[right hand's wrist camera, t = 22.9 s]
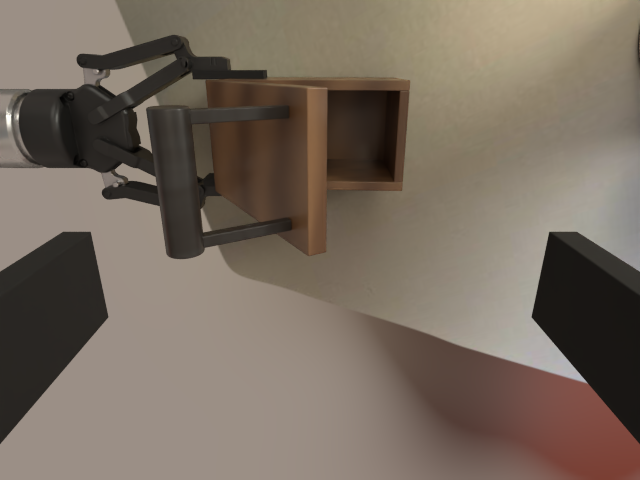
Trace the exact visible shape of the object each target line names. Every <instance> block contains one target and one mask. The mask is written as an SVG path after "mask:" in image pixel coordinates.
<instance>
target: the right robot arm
mask: <svg viewBox="0 0 640 480" xmlns="http://www.w3.org/2000/svg"><path fill="white" fill-rule="evenodd" d="M639 56H640V36H639ZM107 318H108V313H107V308H106V304H105V299H104V294H103V289H102V284H101V279H100V275H99V270H98V265H97V260H96V255H95V251H94V246H93V241H92V236H91V232H62V233H61V234H59V235H57V236H56V237H54V238H53V239H51V240H50V241H48V242H46V243H45V244H43V245H42V246H40V247H39V248H37V249H35V250H34V251H32V252H31V253H29V254H28V255H26V256H24V257H23V258H21V259H20V260H18V261H16V262H15V263H13V264H12V265H10V266H9V267H7V268H5V269H4V270H2V271H1V272H0V444H1V442H2V441H3V440H4V439H5V438H6V437H7V435H8V434H9V433H10V432H11V431H12V429H13V428H14V427H15V426H16V425H17V424H18V422H19V421H20V420H21V419H22V418H23V417H24V415H25V414H26V413H27V412H28V411H29V410H30V408H31V407H32V406H33V405H34V404H35V403H36V401H37V400H38V399H39V398H40V397H41V396H42V394H43V393H44V392H45V391H46V390H47V388H48V387H49V386H50V385H51V384H52V383H53V381H54V380H55V379H56V378H57V377H58V376H59V374H60V373H61V372H62V371H63V370H64V369H65V367H66V366H67V365H68V364H69V363H70V362H71V360H72V359H73V358H74V357H75V356H76V354H77V353H78V352H79V351H80V350H81V349H82V347H83V346H84V345H85V344H86V343H87V342H88V340H89V339H90V338H91V337H92V336H93V335H94V333H95V332H96V331H97V330H98V329H99V328H100V326H101V325H102V324H103V323H104V322H105V321H106V319H107ZM532 318H533V319H534V321H535V322H536V323H537V324H538V325H539V326H540V328H541V329H542V330H543V331H544V332H545V333H546V335H547V336H548V337H549V338H550V339H551V340H552V342H553V343H554V344H555V345H556V346H557V347H558V349H559V350H560V351H561V352H562V353H563V354H564V356H565V357H566V358H567V359H568V360H569V362H570V363H571V364H572V365H573V366H574V367H575V369H576V370H577V371H578V372H579V373H580V374H581V376H582V377H583V378H584V379H585V380H586V381H587V383H588V384H589V385H590V386H591V387H592V388H593V390H594V391H595V392H596V393H597V394H598V396H599V397H600V398H601V399H602V400H603V401H604V403H605V404H606V405H607V406H608V407H609V408H610V410H611V411H612V412H613V413H614V414H615V415H616V417H617V418H618V419H619V420H620V421H621V422H622V424H623V425H624V426H625V427H626V428H627V429H628V431H629V432H630V433H631V434H632V435H633V437H634V438H635V439H636V440H637V441H638V442H639V443H640V272H639V271H638V270H636V269H635V268H633V267H631V266H630V265H628V264H627V263H625V262H624V261H622V260H620V259H619V258H617V257H616V256H614V255H613V254H611V253H609V252H608V251H606V250H605V249H603V248H601V247H600V246H598V245H597V244H595V243H594V242H592V241H590V240H589V239H587V238H586V237H584V236H583V235H581V234H579V233H578V232H549V236H548V241H547V246H546V251H545V256H544V260H543V265H542V270H541V275H540V279H539V284H538V289H537V294H536V299H535V303H534V308H533V313H532Z"/></svg>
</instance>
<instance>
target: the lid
mask: <svg viewBox="0 0 640 480" xmlns="http://www.w3.org/2000/svg"><path fill="white" fill-rule="evenodd" d="M206 90H207V101H208V108H195V109H190V108H189V107H188V106H178V105H168V106H152V107H148V108H147V109H146V111H147V118H148V125H149V132H150V140H151V146H152V154H153V161H154V168H155V175H156V182H157V189H158V196H159V204H160V211H161V218H162V225H163V232H164V239H165V246H166V253H167V255H168V256H169V257H171V258H174V259H188V258H193V257H196V256H199V255H200V254H202V253H203V252H204V249H205V248H206V247H211V246H216V245H221V244H226V243H231V242H236V241H241V240H246V239H251V238H256V237H261V236H266V235H271V234H278V235H279V236H280V237H282V238H283V239H285V240H286V241H288V242H289V243H290V244H292V245H293V246H295V247H296V248H298V249H299V250H300V251H302V252H303V253H305V254H306V255H308V256H311V255H315V254H320V253H324V252H326V202H327V87H316V86H302V85H287V84H272V83H257V82H242V81H228V80H206ZM204 123H210V134H211V145H212V156H213V168H214V179H215V190H216V192H218V193H219V194H220V195H222V196H223V197H225V198H226V199H228V200H229V201H230V202H232V203H233V204H235V205H236V206H238V207H239V208H240V209H242V210H243V211H245V212H246V213H248V214H249V215H250V216H252V217H253V218H255V219H256V220H258V221H259V223H253V224H248V225H242V226H237V227H231V228H226V229H220V230H215V231H209V232H204V233H203V229H202V220H201V210H200V201H199V191H198V181H197V172H196V162H195V153H194V143H193V134H192V124H204Z"/></svg>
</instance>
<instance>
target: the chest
mask: <svg viewBox="0 0 640 480" xmlns="http://www.w3.org/2000/svg"><path fill="white" fill-rule="evenodd" d="M219 80H228V81H242V82H257V83H272V84H287V85H302V86H316V87H327V190H381V191H402V181H403V170H404V156H405V143H406V129H407V116H408V103H409V90H410V80H404V79H398V78H306V77H267V78H266V79H219Z"/></svg>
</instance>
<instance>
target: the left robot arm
mask: <svg viewBox="0 0 640 480" xmlns="http://www.w3.org/2000/svg"><path fill="white" fill-rule="evenodd" d="M171 54H175V56H176V58H177V60H176V61H174V62H173V63H171V64H169V65H168V66H166V67H165V68H163V69H161V70H160V71H158V72H156V73H155V74H153V75H152V76H150V77H148V78H147V79H145V80H143V81H142V82H140V83H139V84H137V85H135V86H134V87H132V88H131V89H129V90H127V91H125V92H123V93H121V94H119V95H117V96H115V95H114V94H112V93H111V92H110V91H108V90H107V89H105V88H104V87H102V86H101V85H100V81H101V80H102V79H103V78H107V77H109V75H110V70H115V69H122V68H126V67H129V66H132V65H136V64H140V63H143V62H147V61H150V60H153V59H157V58H160V57H164V56H167V55H171ZM77 63H78V64H79V66H80V67H82V68H83V70H84V81H85V84H84V85H82V86H81V87H79V88H77V89H35V90H32V91H31V90H29V89H0V168H41V167H47V168H91V169H94V170H96V171H98V172H101V173H102V177H103V180H104V184H105V187H106V188H104V189H103V190H102V195H103V197H104V198H106V199H119V198H128V199H132V200H136V201H141V202H145V203H149V204H153V205H158V206H160V204H159V196H158V189H157V186H155V185H150V184H146V183H142V182H137V181H128V178H127V177H125V176H121V175H118V174H117V173H116V172H115V169H116V168H117V167H118V166H119V165H121V164H122V163H124V164H126V165H128V166H130V167H133V168H139V169H141V170H143V171H145V172H147V173H149V174H151V175H153V176H155V177H156V175H155V168H154V161H153V154H152V153H151V152H150V151H149V150H147V149H145V148H143V147H141V146H139V144H141V142H140V136H139V133H138V131H137V128H136V127H137V115H136V112H134V111H133V108H135V107H137V106H138V105H140V104H141V103H143V102H144V101H145V100H147V99H148V98H150V97H152V96H153V95H155V94H157V93H158V92H160V91H162V90H163V89H165V88H167V87H168V86H170V85H171V84H173V83H175V82H176V81H178V80H180V79H181V78H183V77H185V76H186V75H188V74H190V73H191V72H192V75H193V79H266V78H267V70H231V67H230V59H228V58H225V57H197V56H195V55H194V54H193V53H192V51H191V49H190V47H189V41H188V40H187V39H186V38H185V37H182V36H177V35H171V36H168V37H164V38H161V39H157V40H154V41H150V42H147V43H144V44H140V45H137V46H133V47H130V48H126V49H123V50H120V51H116V52H113V53H109V54H106V55H93V54H79V55H78V57H77ZM197 181H198V191H199V201H200V209H201V208H202V207H203V206H204V204H205V199H206V197H207V196H222V195H220V194H219V193H218V192H216V190H215V179H214V173H209V174H208V175H207V176H206V177H205V178H204V179H202V178H200V177H198V176H197Z"/></svg>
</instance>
